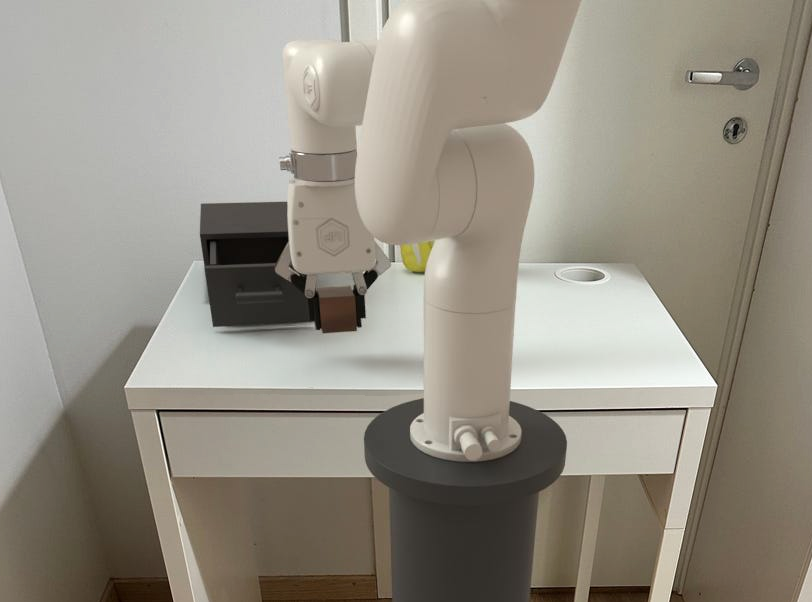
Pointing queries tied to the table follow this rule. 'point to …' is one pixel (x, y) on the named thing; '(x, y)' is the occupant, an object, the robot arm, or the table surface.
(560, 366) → the table surface
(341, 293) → the block
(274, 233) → the grey filing cabinet
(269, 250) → the drawer
